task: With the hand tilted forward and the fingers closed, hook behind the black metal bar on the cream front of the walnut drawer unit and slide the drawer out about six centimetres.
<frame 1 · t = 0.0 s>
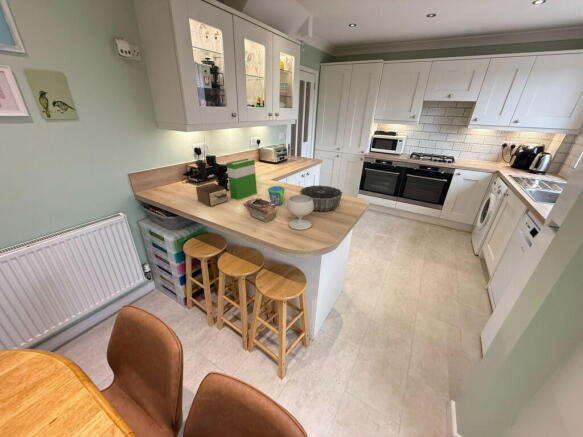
hand: (186, 175, 151), 17 cm above the table, tool horizontal, fingers open, 9 cm apart
cabinet: (212, 201, 156), on the table
bundt pan: (320, 206, 148), on the table
green cereal box: (244, 195, 166), on the table
drawer: (215, 195, 151), point 5 cm above the table, slide at 0.5 cm
chalice: (300, 225, 125), on the table
snack cup: (276, 203, 152), on the table
lined basket: (258, 217, 133), on the table
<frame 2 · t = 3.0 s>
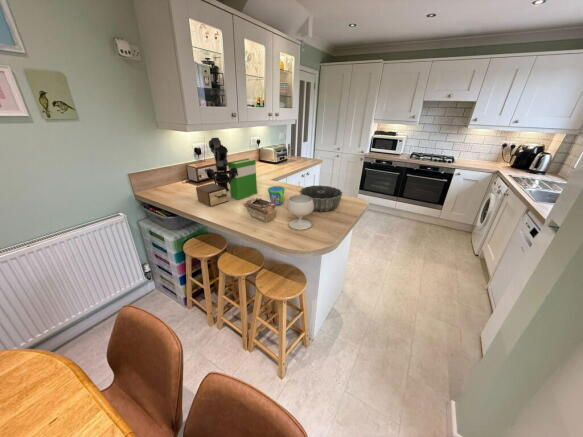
hand: (222, 184, 144), 14 cm above the table, tool tilted 50°, fingers open, 8 cm apart
green cereal box: (244, 195, 166), on the table, touching gripper
everything else where it was.
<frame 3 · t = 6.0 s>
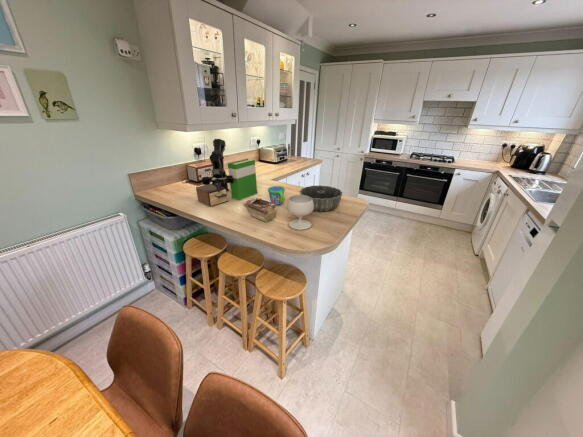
hand: (218, 191, 146), 9 cm above the table, tool tilted 45°, fingers closed
green cereal box: (244, 195, 165), on the table
everything else where it was.
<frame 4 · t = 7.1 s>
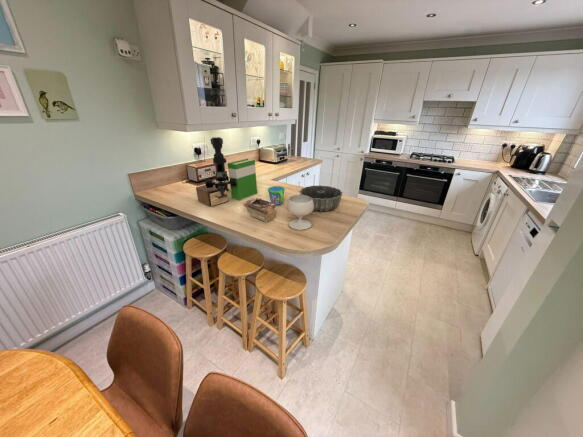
hand: (222, 195, 144), 8 cm above the table, tool tilted 45°, fingers closed, pressing on drawer
drawer: (215, 196, 151), point 5 cm above the table, slide at 1.1 cm, touching gripper
everything else where it was.
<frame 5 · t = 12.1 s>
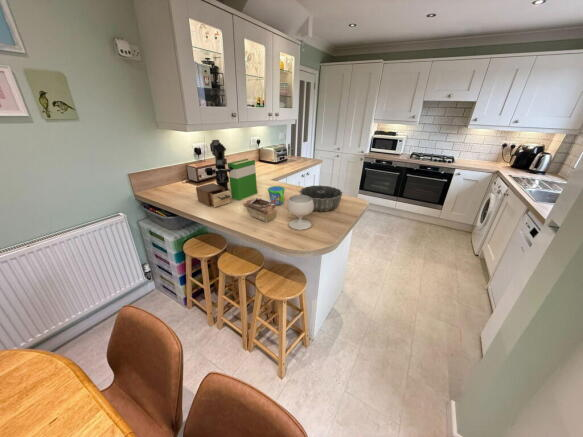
hand: (222, 182, 148), 14 cm above the table, tool tilted 45°, fingers closed
drawer: (218, 197, 149), point 5 cm above the table, slide at 4.2 cm
everything else where it was.
at the end: drawer slide at 4.2 cm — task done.
